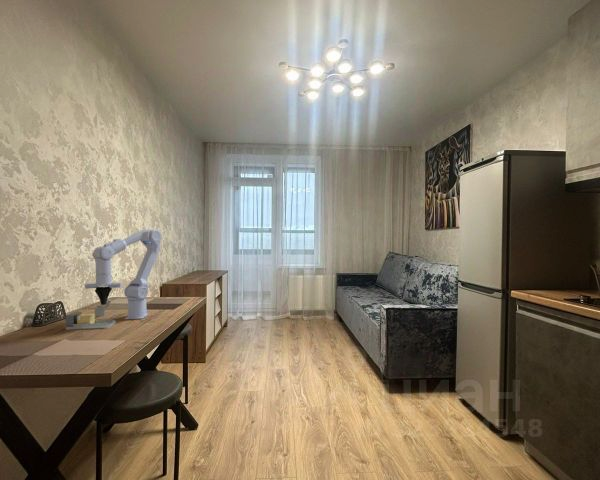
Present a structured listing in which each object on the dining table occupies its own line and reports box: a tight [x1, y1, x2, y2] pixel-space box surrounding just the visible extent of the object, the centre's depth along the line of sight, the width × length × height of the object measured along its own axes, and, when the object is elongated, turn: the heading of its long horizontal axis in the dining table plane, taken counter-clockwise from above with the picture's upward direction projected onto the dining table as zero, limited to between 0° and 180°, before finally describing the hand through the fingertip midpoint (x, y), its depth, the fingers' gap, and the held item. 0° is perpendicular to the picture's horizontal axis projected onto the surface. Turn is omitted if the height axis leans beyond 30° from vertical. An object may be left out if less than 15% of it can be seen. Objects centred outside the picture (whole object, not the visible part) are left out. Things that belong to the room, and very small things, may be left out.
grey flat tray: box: [65, 318, 117, 331], centre depth 140 cm, size 9×17×2 cm, turn 98°
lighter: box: [94, 298, 112, 318], centre depth 159 cm, size 7×2×8 cm, turn 116°
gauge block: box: [77, 312, 96, 324], centre depth 138 cm, size 5×5×4 cm
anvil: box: [65, 311, 82, 328], centre depth 138 cm, size 6×3×5 cm, turn 8°
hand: (103, 304), depth 141 cm, fingers closed
